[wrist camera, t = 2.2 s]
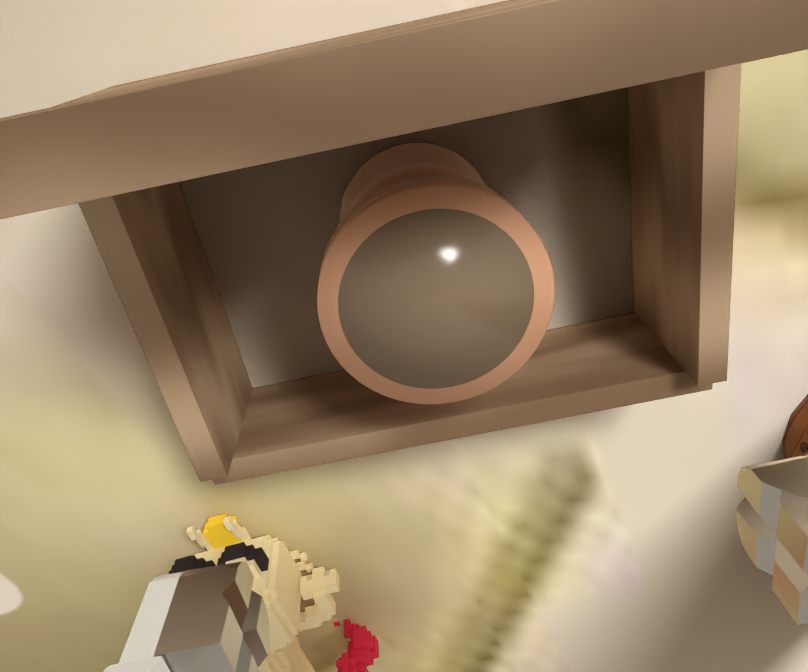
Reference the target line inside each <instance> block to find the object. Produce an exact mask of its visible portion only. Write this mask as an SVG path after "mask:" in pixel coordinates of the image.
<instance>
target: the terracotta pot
mask: <svg viewBox="0 0 808 672" xmlns="http://www.w3.org/2000/svg"><path fill="white" fill-rule="evenodd" d="M554 296H555V287H554V276H553V270H552V265H551V262H550V259H549V256H548V253H547V251H546V249H545V247H544V245H543V243H542V241H541V239H540V237H539V236H538V235H537V233H536V232H535V230H534V229H533V227H532V226H531V225H530V223H529V222H528V221H527V219H526V218H525V217H524V215H523V214H522V213H521V212H520V211H519V210H518V209H517V208H516V207H515V206H514V205H513V204H512V203H511V202H510V201H509V200H507V199H506V198H505V197H504V196H502V195H501V194H499V193H498V192H496V191H494V190H493V189H491V188H489V187H487V185H486V184H485V182H484V181H483V179H482V178H481V177H480V175H479V174H478V172H477V171H476V170H475V168H474V167H473V166H472V165H471V164H470V163H469V162H468V161H466V160H465V159H464V158H463V157H461V156H460V155H458V154H457V153H455V152H453V151H451V150H449V149H447V148H444V147H441V146H438V145H434V144H428V143H408V144H401V145H398V146H394V147H391V148H389V149H386V150H384V151H382V152H380V153H378V154H377V155H375V156H373V157H372V158H371V159H370V160H368V161H367V162H366V163H365V164H364V165H363V166H362V167H361V168H360V169H359V170H358V171H357V172H356V174H355V175H354V176H353V178H352V179H351V181H350V183H349V185H348V187H347V189H346V191H345V194H344V196H343V200H342V205H341V211H340V221H339V226H338V227H337V228H336V230H335V232H334V233H333V235H332V237H331V239H330V241H329V243H328V246H327V248H326V251H325V253H324V256H323V261H322V265H321V270H320V276H319V282H318V292H317V309H318V317H319V322H320V327H321V330H322V333H323V335H324V338H325V341H326V343H327V345H328V346H329V348H330V350H331V352H332V354H333V355H334V356H335V358H336V359H337V361H338V362H339V363H340V365H341V366H342V367H343V368H344V369H345V370H346V371H347V372H348V373H349V374H350V375H351V376H353V377H354V378H355V379H356V380H357V381H359V382H360V383H361V384H363V385H365V386H366V387H368V388H370V389H371V390H373V391H375V392H377V393H379V394H382V395H384V396H386V397H389V398H393V399H396V400H399V401H404V402H409V403H416V404H444V403H452V402H457V401H461V400H465V399H469V398H472V397H474V396H477V395H480V394H482V393H484V392H486V391H488V390H490V389H492V388H494V387H496V386H498V385H499V384H501V383H502V382H504V381H505V380H507V379H508V378H509V377H511V376H512V375H513V374H514V373H515V372H517V371H518V370H519V369H520V368H521V367H522V366H523V365H524V364H525V363H526V362H527V361H528V359H529V358H530V357H531V355H532V354H533V353H534V351H535V350H536V349H537V347H538V345H539V344H540V342H541V340H542V338H543V337H544V335H545V332H546V330H547V327H548V325H549V322H550V318H551V315H552V311H553V305H554Z"/></svg>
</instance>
